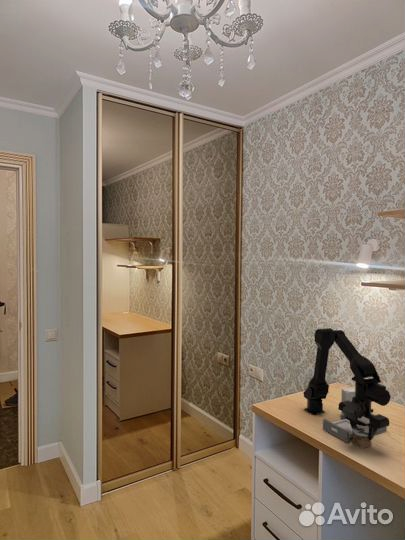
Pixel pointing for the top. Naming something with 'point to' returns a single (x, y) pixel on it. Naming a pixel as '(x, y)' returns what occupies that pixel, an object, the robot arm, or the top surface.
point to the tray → (339, 429)
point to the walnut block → (361, 441)
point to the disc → (360, 431)
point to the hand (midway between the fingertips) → (362, 435)
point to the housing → (365, 423)
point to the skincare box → (347, 395)
